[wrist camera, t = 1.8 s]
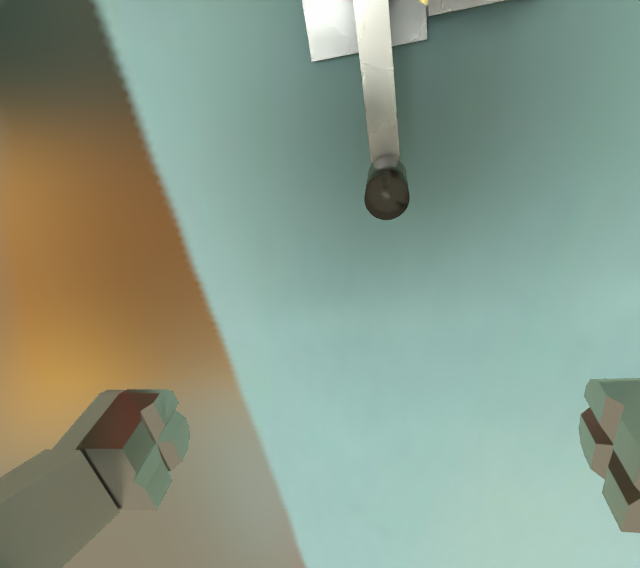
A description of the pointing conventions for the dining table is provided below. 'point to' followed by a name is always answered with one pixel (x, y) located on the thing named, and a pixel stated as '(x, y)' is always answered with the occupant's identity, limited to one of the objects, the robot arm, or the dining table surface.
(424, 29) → the crank base
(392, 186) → the crank
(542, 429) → the dining table surface
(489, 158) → the dining table surface
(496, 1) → the socket
